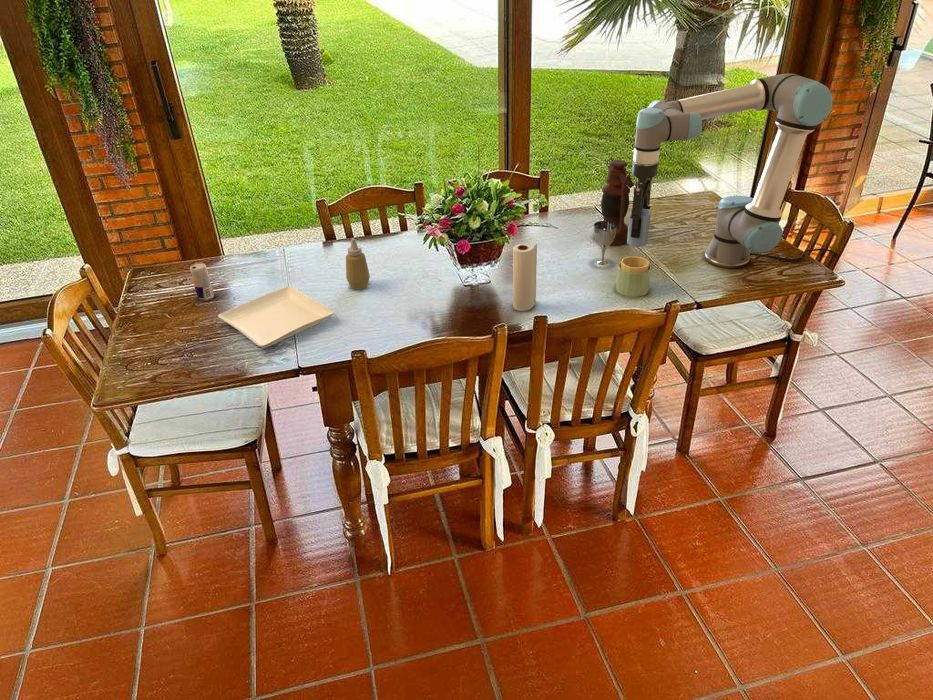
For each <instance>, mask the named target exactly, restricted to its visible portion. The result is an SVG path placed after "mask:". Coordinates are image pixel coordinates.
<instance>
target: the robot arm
mask: <svg viewBox="0 0 933 700" xmlns="http://www.w3.org/2000/svg"><path fill="white" fill-rule="evenodd" d="M832 107H833V95H832V92H831V90H830V89H829V88H828V86H826V85H825V84H823V83H822V82H819V81H817V80H814V79H812V78H808V77H805V76H801V75H800V74H796V73H780V74H774V75H769V76H765V77H761V78H757V79H753V80H752V81H751V82H750V83H748V84H745V85H739V86H736V87H731V88H727V89H722V90H717V91H712V92H709V93H703V94H700V95H695V96H690V97H686V98H682V99H677V100H672V101H667V102H666V101H665V100H658V99H657V100H654V101H652V102H650V104H649V105H648V106H647V107H646V108H642V109H640V110H639V111H638V114H637V117H636V124H635V137H634V138H635V139H634V149H633V150H631V152H632V154H633V162H632V168H631V175H632V176H633V177H635V178H636V179H637V180H636V182H635V184H634V187H633V197H632V198H633V199H632V207H631V210H632V214H631V216H630V218H631V219H633V220H632V230H631V237H633V238H640V231H641V222H642V218H641V215H642V209H647V210H649V211H651V206H650V204H651V192H652V181H653V178H655V177H656V176H657V175H658V169H659V161H660V155H661V154H660V153H661V145H662V142H664V143H665V142H666V143H667V142H674V141H676V142H677V141H688V140H694V139H696V138H698V137H700V135H701V133H702V131H703V121H704V120H707V119H708V120H709V119H713V118H718V117H721V116H727V115H731V114H735V113H740V112H745V111H749V110H752V111H755V112H760V111H773V112H777V116H776V119H775V121H774V122H775V125H776V127H777V131H776V133H775V136H774V140H773V142H772V145H771V148H770V151H769V153H768V157H767V160H766V163H765V165H764V168H763V170H762V174H761V176H760V179H759V182H758V184H757V187H756V190H755V194H754V196H753V197H751V196H747V195H746V196H745V195H729V196H725V197H723V198H721V199H720V201H719V203H718V207H717V214H716V221H715V227H714V232H713V237H712V239H711V241H710V243H709V245H708V246H707V248H706V250H705V253H704V254H705V255H704V258H705V261H707V262H708V263H709V264H711V265H714V266H716V267H719V268H722V269H723V268H724V269H741V268H743V267H746V266H748V265H749V264H750V260H751V256H756V257H763V258H764V257H765V258H771V259H777V260H783V261H790V262H793V261H795V262H796V261H799V260H802V259H803V257H804V256H805V255H806V253H808V252H809V253H810V252H817V251H818V252H820V251H823V252H829V253H831V254H833V255H834V256H838V254H837V252H835V251H834V250H832V249H828V248H811V249H806V250H804V251H803V252H802V253H801V255H800V256H799V257H797V258H787V257H781V256H776V255H771V254H770V255H769V254H766V253H767V252H770V250H772V249H775V247H777V246H778V244H779V243H780V242H781V240H782V238H783V234H784V233H783V228H782V227H781V225H780V222H781V219H782V218H783V217H782V216H783V213H782V210H781V209H780V208H781V205H782V203H783V200H784V197H785V195H786V192H787V189H788V186H789V184H790V181H791V179H792V176H793V173H794V170H795V167H796V166H797V163H798V160H799V157H800V154H801V152H802V149H803V146H804V144H805V141H806V138H807V136H808V135H809V134H811V133H813V132H815V130H816V127H817V125H820V124H821V123H822V122H823V121H824V120H825V119H827V118H828V116H829V114H830V113H831V111H832Z"/></svg>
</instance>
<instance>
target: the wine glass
mask: <svg viewBox="0 0 933 700" xmlns="http://www.w3.org/2000/svg"><path fill="white" fill-rule="evenodd" d="M616 231H617V224H616V223H614V222H611V221H604V220H598V221H596V222H594V224H593V239H594V238H595V239H594V241H595V242H596V245H598V246H599V247H600V249H601V259H600V260H598V261H597V262H596V263H597V265H600V266H606V265H608V264H609V262H608V261H607V260H605V255H606V254H605V253H606V250H607V248H609V245H610V244H611V243H612V242H613V241H614V239H615V236H616Z"/></svg>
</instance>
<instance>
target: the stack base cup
mask: <svg viewBox="0 0 933 700" xmlns="http://www.w3.org/2000/svg"><path fill="white" fill-rule="evenodd" d="M616 274H617V275H616V283H615V284H616V285H615V290H616V291H617V292H618V294H620V295H623V296H626V297H631V298H637V297H642V296H645V295H647V294H648V293H649V289H650V283H651V282H650V281H651V274H652V265H651V264H650V263H649V267H648V271H647V272H644V273H629V272H626V271H624V270H622V269H621V261H620V262H618V264H617V273H616Z"/></svg>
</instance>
